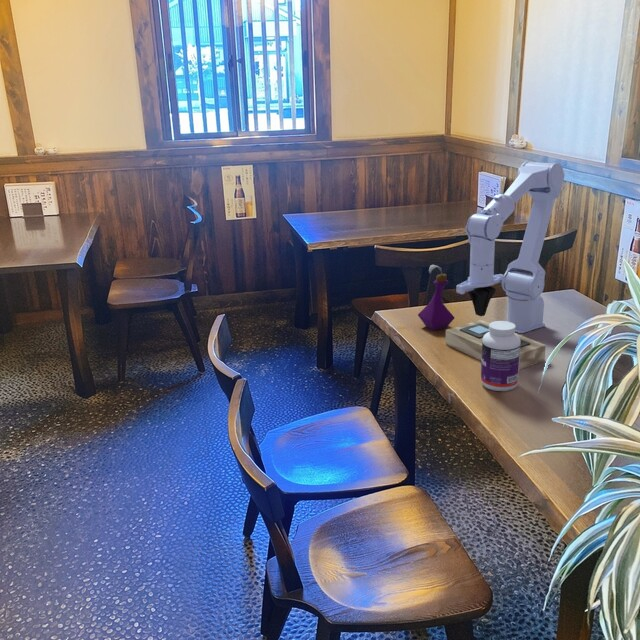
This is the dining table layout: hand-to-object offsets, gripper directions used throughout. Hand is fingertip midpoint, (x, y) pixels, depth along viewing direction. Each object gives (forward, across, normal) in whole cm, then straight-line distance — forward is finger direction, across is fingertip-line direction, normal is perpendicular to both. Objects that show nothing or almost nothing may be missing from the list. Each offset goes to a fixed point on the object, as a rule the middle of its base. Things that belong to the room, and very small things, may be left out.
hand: (480, 314), depth 157 cm
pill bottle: (+9, +12, +19) cm, 24 cm away
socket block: (+8, 0, +5) cm, 10 cm away
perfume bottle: (+9, 0, -17) cm, 19 cm away
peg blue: (+8, 0, 0) cm, 9 cm away
